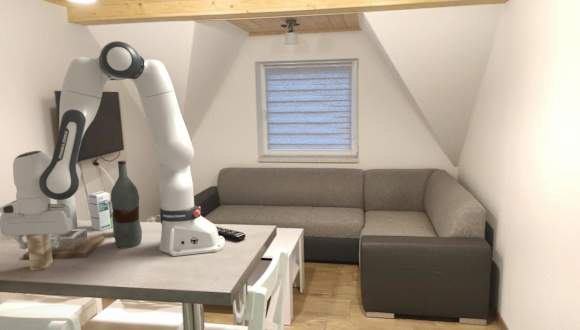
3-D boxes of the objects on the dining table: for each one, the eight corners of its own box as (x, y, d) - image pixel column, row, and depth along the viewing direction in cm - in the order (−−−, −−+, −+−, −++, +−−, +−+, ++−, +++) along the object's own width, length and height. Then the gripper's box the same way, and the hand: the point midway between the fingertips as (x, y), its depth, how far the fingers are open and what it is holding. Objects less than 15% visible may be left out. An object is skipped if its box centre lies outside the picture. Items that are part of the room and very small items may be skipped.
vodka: (110, 248, 147) (102, 163, 142) (121, 239, 156) (114, 159, 151) (137, 248, 147) (129, 163, 142) (146, 239, 156) (140, 158, 151)
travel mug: (71, 233, 164) (65, 183, 161) (56, 232, 166) (50, 182, 162) (82, 228, 170) (77, 179, 167) (67, 227, 172) (62, 179, 168)
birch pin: (53, 263, 135) (49, 230, 133) (45, 269, 131) (41, 235, 129) (38, 264, 135) (34, 230, 133) (30, 269, 131) (26, 235, 129)
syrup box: (100, 231, 167) (96, 195, 164) (91, 228, 170) (87, 193, 167) (113, 227, 171) (109, 192, 169) (104, 225, 174) (100, 190, 172)
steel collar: (87, 239, 153) (86, 228, 152) (74, 250, 143) (73, 238, 142) (57, 240, 152) (56, 229, 152) (42, 251, 142) (41, 239, 141)
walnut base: (104, 240, 156) (104, 236, 156) (85, 256, 140) (85, 252, 140) (48, 242, 155) (48, 238, 155) (23, 259, 139) (23, 254, 139)
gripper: (73, 201, 133) (78, 243, 135) (6, 202, 132) (12, 245, 135) (64, 206, 127) (69, 250, 129) (-7, 208, 126) (0, 252, 128)
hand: (39, 247), depth 132 cm, fingers open, 8 cm apart
